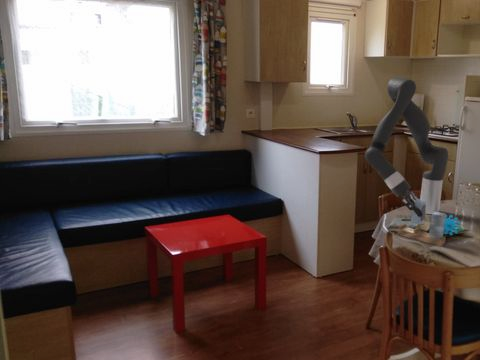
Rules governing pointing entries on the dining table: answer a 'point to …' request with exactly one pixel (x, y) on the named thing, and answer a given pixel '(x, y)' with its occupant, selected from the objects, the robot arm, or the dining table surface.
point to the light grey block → (422, 206)
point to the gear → (452, 225)
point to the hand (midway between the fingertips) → (422, 214)
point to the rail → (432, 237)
